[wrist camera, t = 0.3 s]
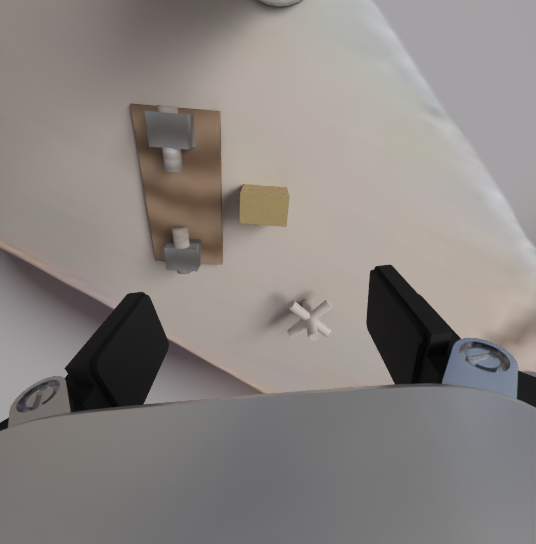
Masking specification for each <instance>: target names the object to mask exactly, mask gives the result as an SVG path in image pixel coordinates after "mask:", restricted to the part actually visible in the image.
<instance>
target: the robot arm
mask: <svg viewBox="0 0 536 544" xmlns="http://www.w3.org/2000/svg"><path fill="white" fill-rule="evenodd" d="M259 1H261V2H263V3H266V4H268V5H272V6H278V7H281V6H290V5H293V4H295V3H298V2H300V1H301V0H259ZM367 328H368V331H369V333H370V335H371V337H372V339H373V341H374V343H375V345H376V347H377V349H378V351H379V353H380V355H381V357H382V359H383V361H384V363H385V365H386V367H387V369H388V371H389V373H390V375H391V377H392V379H393V381H394V383H395V384H394V385H378V386H363V387H348V388H335V389H322V390H309V391H297V392H284V393H272V394H259V395H247V396H235V397H224V398H213V399H200V400H190V401H177V402H166V403H155V404H144V402H145V399H146V397H147V395H148V393H149V391H150V389H151V386H152V384H153V382H154V380H155V377H156V375H157V373H158V371H159V369H160V366H161V364H162V362H163V360H164V357H165V355H166V353H167V351H168V347H169V343H168V339H167V337H166V335H165V332H164V330H163V327H162V325H161V323H160V320H159V318H158V315H157V313H156V311H155V308H154V306H153V303H152V301H151V299H150V297H149V296H148V295H146V294H145V293H144V292H137V293H129V294H127V295H126V296H125V298H124V299H123V300H122V301H121V302H120V304H119V305H118V306H117V307H116V308H115V309H114V311H113V312H112V313H111V314H110V315H109V317H108V318H107V319H106V320H105V321H104V322H103V324H102V325H101V326H100V327H99V328H98V330H97V331H96V332H95V333H94V334H93V335H92V337H91V338H90V339H89V340H88V341H87V343H86V344H85V345H84V346H83V347H82V348H81V350H80V351H79V352H78V353H77V354H76V356H75V357H74V358H73V359H72V360H71V362H70V363H69V364H68V365H67V366H66V368H65V370H66V371H67V373H68V375H67V376H66V378H63V377H61V376H53V377H49V378H46V379H43V380H41V381H39V382H37V383H35V384H33V385H32V386H30V387H29V388H27V389H26V390H25V391H23V392H22V393H21V394H20V395H19V396H18V397H17V398H16V399H15V401H14V402H13V404H12V405H11V408H10V412H9V418H8V419H6V420H4V421H2V422H1V423H0V544H536V377H534V376H531V375H528V374H526V373H523V372H521V371H518V365H517V361H516V360H515V358H514V357H513V356H512V355H511V354H510V353H509V352H508V351H507V350H505V349H504V348H502V347H500V346H498V345H497V344H494V343H492V342H489V341H487V340H482V339H478V338H464V339H461V338H460V337H459V336H458V335H457V334H456V333H455V332H454V331H453V330H452V329H451V328H450V326H449V325H448V324H447V323H446V322H445V321H444V320H443V319H442V318H441V317H440V316H439V315H438V313H437V312H436V311H435V310H434V309H433V308H432V307H431V306H430V305H429V304H428V303H427V301H426V300H425V299H424V298H423V297H422V296H421V295H419V294H417V292H416V291H415V290H414V289H413V288H412V287H411V286H410V285H409V284H408V283H407V281H406V280H405V279H404V278H403V277H402V276H401V275H400V274H399V273H398V272H397V270H396V269H395V268H394V267H393V266H392V265H383V266H376V267H375V269H374V270H371V271H370V280H369V294H368V307H367ZM143 404H144V405H143Z"/></svg>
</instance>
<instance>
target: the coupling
mask: <svg viewBox="0 0 536 544" xmlns="http://www.w3.org/2000/svg"><path fill="white" fill-rule="evenodd" d="M288 205H289V193H288V190H287V187H274V186H260V185H246V184H243V187H242V189H241V192H240V224H253V225H268V226H283V227H286V223H287V214H288Z"/></svg>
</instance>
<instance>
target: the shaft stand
mask: <svg viewBox="0 0 536 544" xmlns="http://www.w3.org/2000/svg"><path fill="white" fill-rule="evenodd" d="M130 106H131V112H132V119H133V125H134V131H135V137H136V143H137V149H138V155H139V161H140V168H141V174H142V180H143V186H144V192H145V198H146V204H147V210H148V216H149V223H150V229H151V235H152V241H153V247H154V253H155V259H156V260H158V261H166V267H167V270H177V272H178V273H179V274H188V273H190V272H191V271H198V268H199V266H200V264H201V263H207V264H222V263H223V237H222V180H221V124H220V111H212V110H200V109H188V108H177V107H172V106H160V105H157V106H152V105H140V104H130Z"/></svg>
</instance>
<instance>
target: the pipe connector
mask: <svg viewBox="0 0 536 544" xmlns="http://www.w3.org/2000/svg"><path fill="white" fill-rule="evenodd" d="M302 306H303V307H302ZM302 306H300V305H299V304H298V303H296V302H295V301H291V302H290V303H289V304H288V309H289V310H291V311H292V312H293V313H295V314H296V315H297V316H299V317H300V318H301V320H300V321H299V322H298V323H296V324H295V325H294V326H293V327H291V328H290V329H289V330H288V334H289V335H290V336H291V337H292V338H294V337H295V336H297V335H298V334H299V333H300V332H302V331H303V330H304V329H306V328H307V333H308V338H309V340H310V341H312V342H315V341H317V340H318V339H319V335H318V331H319V332H320V333H321V334H323V335H324V336H328V335H329V334H330V332H331V329H330V328H329V327H328V326H326V325H325V324H324V323H322V322H321V321H320V320H318V318H320V317H321V316H322V315H324V314H325V313H326V312H328V311H329V310H330V309H331V308H333V305H332V304H331V302H330V301H329V300H325V301H324V302H323V303H321V304H320V305H319V306H318V307H316V308H315V309H314V310H312V305H311V302H310V300H308V299H306V300H303V302H302Z"/></svg>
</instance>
